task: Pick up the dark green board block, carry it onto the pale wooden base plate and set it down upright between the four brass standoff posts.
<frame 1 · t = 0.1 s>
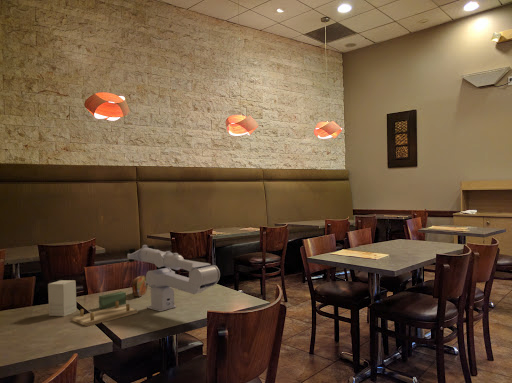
hand: (133, 251, 173), 22 cm above the table, tool horizontal, fingers open, 7 cm apart
tin: (140, 295, 184), on the table
supplement box: (62, 314, 156), on the table
board block: (112, 306, 165), on the table
base plate: (105, 316, 149), on the table
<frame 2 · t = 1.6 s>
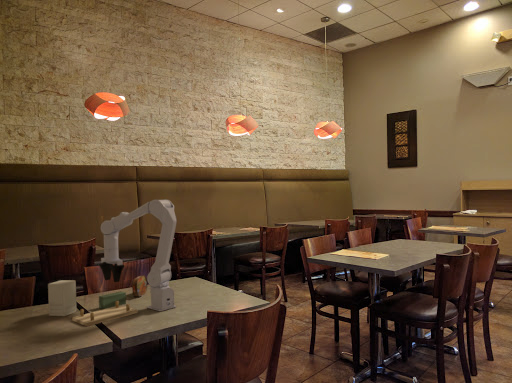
hand: (112, 280, 166), 10 cm above the table, tool pointing down, fingers open, 7 cm apart
nothing on the table moved.
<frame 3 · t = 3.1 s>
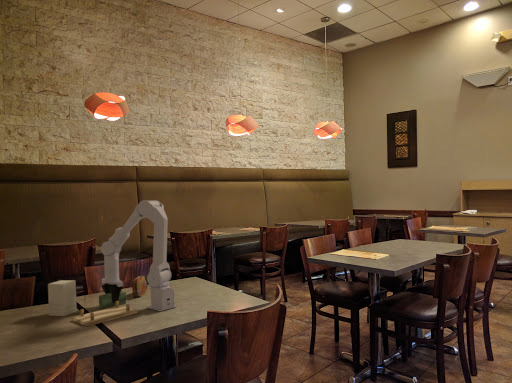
hand: (112, 301, 165), 2 cm above the table, tool pointing down, fingers closed on board block, 4 cm apart
board block: (112, 305, 165), on the table, touching gripper
everything else where it was.
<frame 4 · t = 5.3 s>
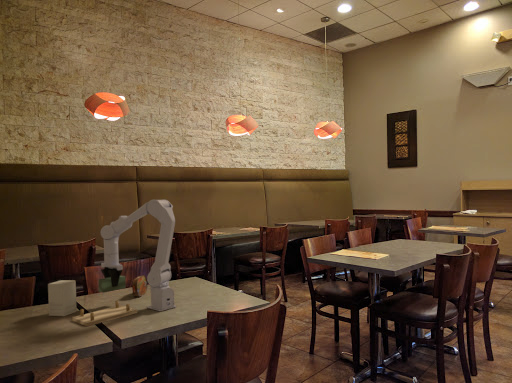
hand: (112, 285, 166), 8 cm above the table, tool pointing down, fingers closed on board block, 4 cm apart
board block: (112, 289, 166), point 7 cm above the table, touching gripper
everything else where it was.
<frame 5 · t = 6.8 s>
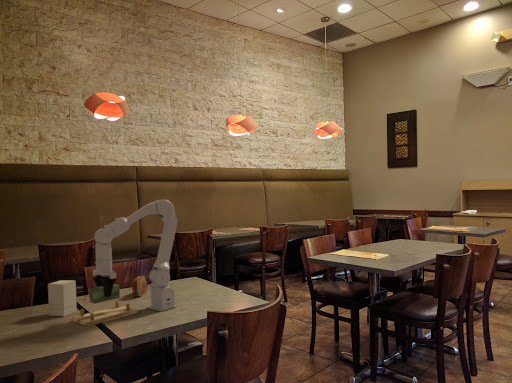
hand: (104, 295, 150), 8 cm above the table, tool pointing down, fingers closed on board block, 4 cm apart
board block: (104, 300, 149), point 6 cm above the table, touching gripper
everything else where it was.
when the fingers open (4 cm above the table, at t = 7.9 s): board block drops 1 cm, resting on base plate.
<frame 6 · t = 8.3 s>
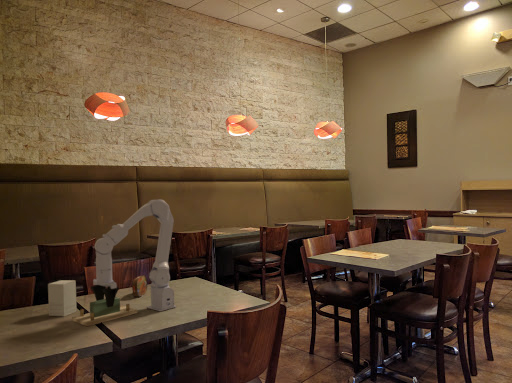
hand: (105, 305, 149), 4 cm above the table, tool pointing down, fingers open, 7 cm apart
board block: (105, 313, 149), point 1 cm above the table, touching base plate
everything else where it was.
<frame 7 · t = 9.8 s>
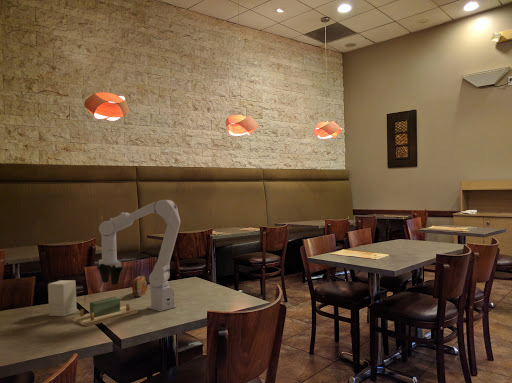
hand: (110, 283, 161), 10 cm above the table, tool pointing down, fingers open, 7 cm apart
nothing on the table moved.
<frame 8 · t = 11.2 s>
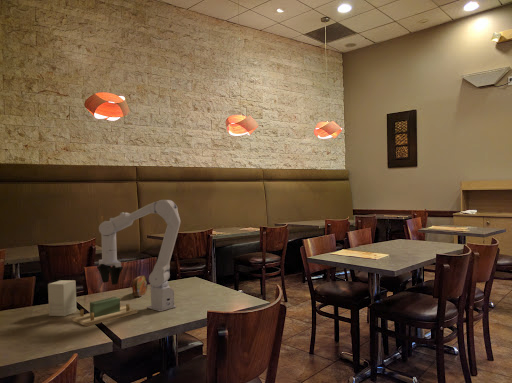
hand: (110, 283, 161), 10 cm above the table, tool pointing down, fingers open, 7 cm apart
nothing on the table moved.
at the end: board block 0.0 cm off-centre on the base plate, point 1.2 cm above the base plate's base; board block tilted 0°; the gripper is holding nothing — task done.
